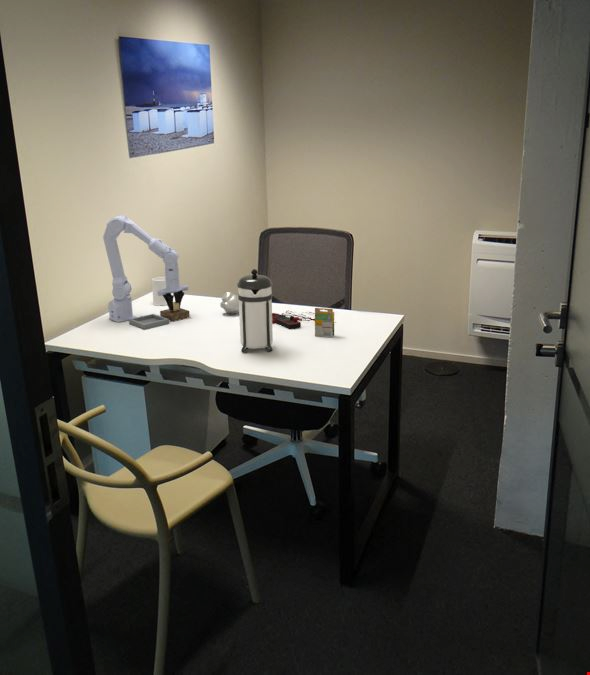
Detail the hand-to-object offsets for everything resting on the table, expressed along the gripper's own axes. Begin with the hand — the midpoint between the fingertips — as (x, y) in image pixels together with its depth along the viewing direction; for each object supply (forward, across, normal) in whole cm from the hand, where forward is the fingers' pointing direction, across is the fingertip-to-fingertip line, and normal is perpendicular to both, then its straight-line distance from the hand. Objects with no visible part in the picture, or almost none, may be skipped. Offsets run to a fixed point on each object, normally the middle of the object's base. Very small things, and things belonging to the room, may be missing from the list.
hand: (174, 309), depth 293 cm
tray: (+4, -13, 0) cm, 14 cm away
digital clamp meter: (+4, +34, -42) cm, 54 cm away
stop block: (+4, 0, 0) cm, 4 cm away
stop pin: (+4, 0, 0) cm, 4 cm away
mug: (+4, +10, +23) cm, 25 cm away
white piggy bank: (+4, +21, -13) cm, 25 cm away
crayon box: (+4, +26, -65) cm, 70 cm away
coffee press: (+4, -2, -56) cm, 56 cm away
